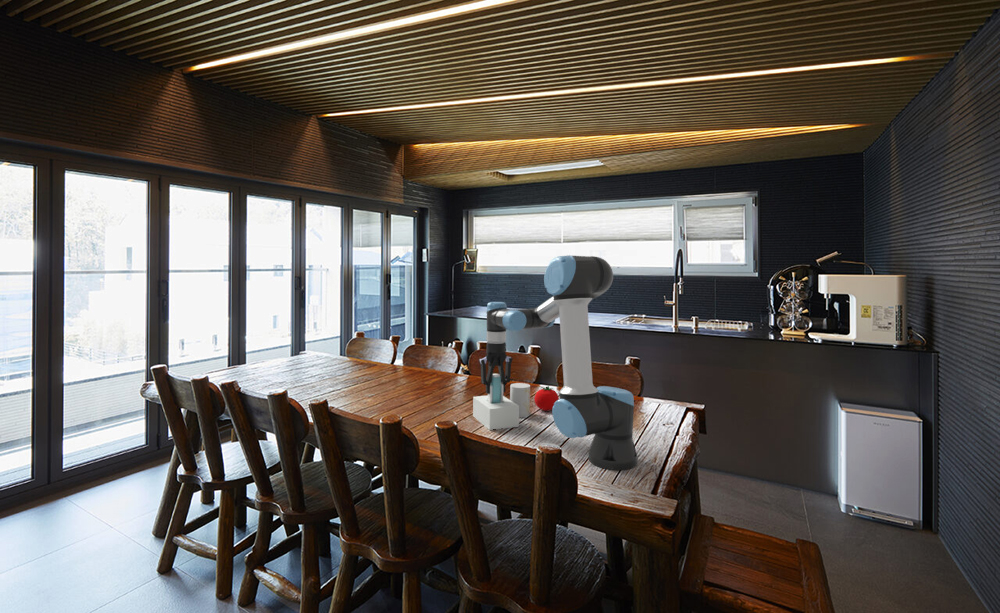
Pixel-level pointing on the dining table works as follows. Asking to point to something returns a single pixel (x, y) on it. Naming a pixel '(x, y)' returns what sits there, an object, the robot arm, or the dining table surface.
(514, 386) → the white cylinder
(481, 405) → the socket
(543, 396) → the tomato
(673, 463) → the dining table surface
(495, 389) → the peg
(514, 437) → the dining table surface
